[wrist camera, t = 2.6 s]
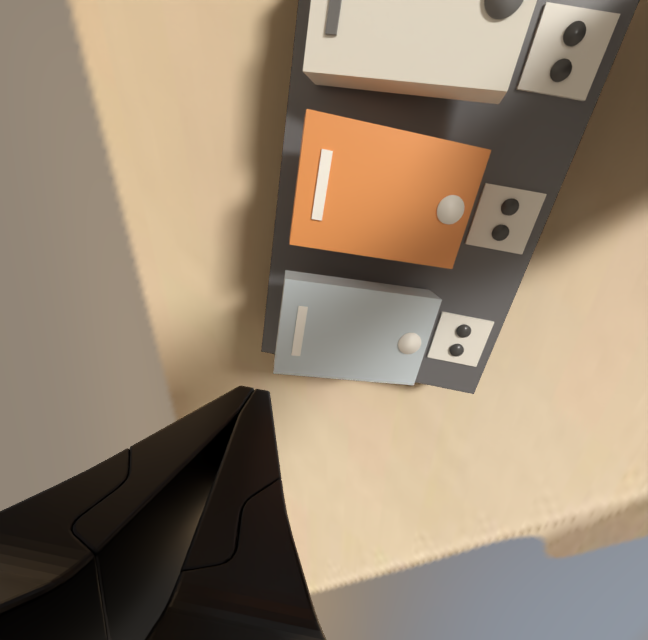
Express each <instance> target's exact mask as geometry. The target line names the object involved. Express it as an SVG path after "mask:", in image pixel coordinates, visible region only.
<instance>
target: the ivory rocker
mask: <svg viewBox="0 0 648 640" xmlns="http://www.w3.org/2000/svg"><path fill="white" fill-rule="evenodd" d="M536 2H537V0H311V4H310V13H309V21H308V30H307V38H306V47H305V55H304V64H303V72H304V73H305V74H306V75H307V76H308V77H309V79H310V80H311V81H312V82H313V83H314V84H315V85H323V86H333V87H342V88H351V89H361V90H370V91H379V92H389V93H398V94H407V95H417V96H426V97H435V98H444V99H454V100H463V101H472V102H482V103H491V104H499V103H500V102H501V100H502V99H503V97H504V96H505V94H506V93H507V91H508V88H509V85H510V82H511V79H512V76H513V72H514V69H515V66H516V63H517V60H518V57H519V54H520V51H521V48H522V45H523V42H524V39H525V36H526V33H527V30H528V27H529V23H530V20H531V17H532V14H533V11H534V8H535V5H536Z"/></svg>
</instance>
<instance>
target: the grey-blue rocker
mask: <svg viewBox="0 0 648 640" xmlns="http://www.w3.org/2000/svg"><path fill="white" fill-rule="evenodd" d="M441 301H442V299H441V298H439V297H438V296H437V295H435V294H434V293H433V292H431V291H430V290H427V289H420V288H412V287H405V286H398V285H391V284H383V283H376V282H369V281H362V280H354V279H347V278H340V277H333V276H325V275H318V274H311V273H303V272H296V271H289V270H285V277H284V285H283V293H282V301H281V309H280V318H279V326H278V334H277V342H276V350H275V358H274V371H273V374H284V375H296V376H308V377H320V378H332V379H344V380H356V381H368V382H380V383H392V384H404V385H414V383H415V380H416V377H417V374H418V371H419V368H420V365H421V362H422V359H423V356H424V353H425V350H426V347H427V344H428V341H429V338H430V335H431V332H432V329H433V326H434V323H435V320H436V317H437V314H438V311H439V307H440V304H441Z"/></svg>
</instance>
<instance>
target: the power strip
mask: <svg viewBox="0 0 648 640" xmlns="http://www.w3.org/2000/svg"><path fill="white" fill-rule="evenodd" d="M638 3H639V0H537V2H536V5H535V8H534V11H533V14H532V17H531V20H530V23H529V27H528V30H527V33H526V36H525V39H524V42H523V45H522V48H521V51H520V54H519V57H518V60H517V63H516V66H515V69H514V72H513V76H512V79H511V82H510V85H509V88H508V91H507V93H506V94H505V96H504V97H503V99H502V100H501V102H500V103H499V104H491V103H482V102H472V101H463V100H454V99H444V98H435V97H426V96H417V95H407V94H398V93H389V92H379V91H370V90H361V89H351V88H342V87H333V86H323V85H315V84H314V83H313V82H312V81H311V80H310V79H309V77H308V76H307V75H306V74H305V73H304V72H303V64H304V55H305V47H306V38H307V30H308V21H309V13H310V4H311V0H299V1H298V11H297V20H296V30H295V39H294V48H293V58H292V67H291V77H290V86H289V96H288V105H287V115H286V124H285V134H284V143H283V152H282V162H281V171H280V181H279V190H278V200H277V209H276V219H275V228H274V238H273V247H272V257H271V266H270V275H269V285H268V294H267V304H266V313H265V323H264V332H263V342H262V352H267V353H272V354H275V350H276V342H277V334H278V326H279V318H280V309H281V301H282V293H283V285H284V277H285V270H289V271H296V272H303V273H311V274H318V275H325V276H333V277H340V278H347V279H354V280H362V281H369V282H376V283H383V284H391V285H398V286H405V287H412V288H420V289H427V290H430V291H431V292H433V293H434V294H435V295H437V296H438V297H439V298H441V299H442V301H441V304H440V307H439V311H438V314H437V317H436V320H435V323H434V326H433V329H432V332H431V335H430V338H429V341H428V344H427V347H426V350H425V353H424V356H423V359H422V362H421V365H420V368H419V371H418V374H417V377H416V380H415V382H417V383H422V384H427V385H432V386H437V387H442V388H447V389H452V390H457V391H462V392H467V393H472V394H474V392H475V390H476V387H477V385H478V383H479V380H480V378H481V375H482V373H483V371H484V368H485V366H486V364H487V361H488V359H489V356H490V354H491V352H492V349H493V347H494V345H495V342H496V340H497V337H498V335H499V333H500V330H501V328H502V326H503V323H504V321H505V318H506V316H507V314H508V311H509V309H510V307H511V304H512V302H513V299H514V297H515V295H516V292H517V290H518V288H519V285H520V283H521V280H522V278H523V276H524V273H525V271H526V269H527V266H528V264H529V261H530V259H531V257H532V254H533V252H534V250H535V247H536V245H537V243H538V240H539V238H540V235H541V233H542V231H543V228H544V226H545V224H546V221H547V219H548V216H549V214H550V212H551V209H552V207H553V205H554V202H555V200H556V197H557V195H558V193H559V190H560V188H561V186H562V183H563V181H564V178H565V176H566V174H567V171H568V169H569V167H570V164H571V162H572V159H573V157H574V155H575V152H576V150H577V148H578V145H579V143H580V140H581V138H582V136H583V133H584V131H585V129H586V126H587V124H588V121H589V119H590V117H591V114H592V112H593V110H594V107H595V105H596V102H597V100H598V98H599V95H600V93H601V91H602V88H603V86H604V83H605V81H606V79H607V76H608V74H609V72H610V69H611V67H612V65H613V62H614V60H615V57H616V55H617V53H618V50H619V48H620V46H621V43H622V41H623V38H624V36H625V34H626V31H627V29H628V27H629V24H630V22H631V19H632V17H633V15H634V12H635V10H636V8H637V5H638ZM306 109H310V110H315V111H319V112H324V113H328V114H333V115H337V116H342V117H346V118H351V119H355V120H360V121H364V122H369V123H373V124H378V125H382V126H387V127H391V128H395V129H400V130H404V131H409V132H413V133H418V134H422V135H427V136H431V137H436V138H440V139H445V140H449V141H454V142H458V143H463V144H467V145H472V146H476V147H481V148H485V149H490V150H491V153H490V156H489V159H488V162H487V165H486V168H485V171H484V174H483V177H482V180H481V183H480V186H479V189H478V192H477V195H476V198H475V201H474V204H473V207H472V210H471V214H470V217H469V220H468V223H467V226H466V229H465V232H464V235H463V238H462V241H461V244H460V247H459V250H458V253H457V256H456V259H455V262H454V265H453V268H452V269H448V268H441V267H435V266H428V265H421V264H415V263H408V262H401V261H395V260H388V259H382V258H375V257H368V256H362V255H355V254H348V253H342V252H335V251H329V250H322V249H315V248H309V247H302V246H296V245H290V243H289V237H290V229H291V221H292V213H293V205H294V197H295V189H296V181H297V173H298V165H299V157H300V149H301V141H302V133H303V125H304V117H305V113H306Z"/></svg>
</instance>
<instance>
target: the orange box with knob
mask: <svg viewBox="0 0 648 640" xmlns="http://www.w3.org/2000/svg"><path fill="white" fill-rule="evenodd" d="M490 153H491V150H490V149H485V148H481V147H476V146H472V145H467V144H463V143H458V142H454V141H449V140H445V139H440V138H436V137H431V136H427V135H422V134H418V133H413V132H409V131H404V130H400V129H395V128H391V127H387V126H382V125H378V124H373V123H369V122H364V121H360V120H355V119H351V118H346V117H342V116H337V115H333V114H328V113H324V112H319V111H315V110H310V109H306V113H305V117H304V125H303V133H302V141H301V149H300V157H299V165H298V173H297V181H296V189H295V197H294V205H293V213H292V221H291V229H290V237H289V243H290V245H296V246H302V247H309V248H315V249H322V250H329V251H335V252H342V253H348V254H355V255H362V256H368V257H375V258H382V259H388V260H395V261H401V262H408V263H415V264H421V265H428V266H435V267H441V268H448V269H452V268H453V265H454V262H455V259H456V256H457V253H458V250H459V247H460V244H461V241H462V238H463V235H464V232H465V229H466V226H467V223H468V220H469V217H470V214H471V210H472V207H473V204H474V201H475V198H476V195H477V192H478V189H479V186H480V183H481V180H482V177H483V174H484V171H485V168H486V165H487V162H488V159H489V156H490Z"/></svg>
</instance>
